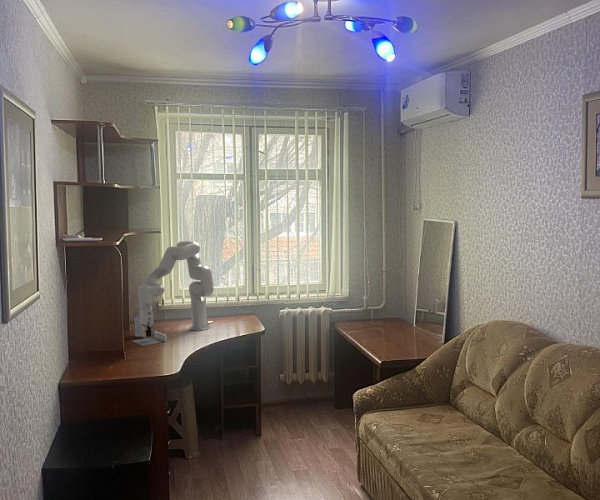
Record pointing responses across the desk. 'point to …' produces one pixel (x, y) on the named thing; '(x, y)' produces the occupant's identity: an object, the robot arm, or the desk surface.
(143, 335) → the birch cylinder
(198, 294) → the robot arm
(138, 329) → the ink cartridge box
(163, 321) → the desk surface
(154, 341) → the board
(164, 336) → the plate
